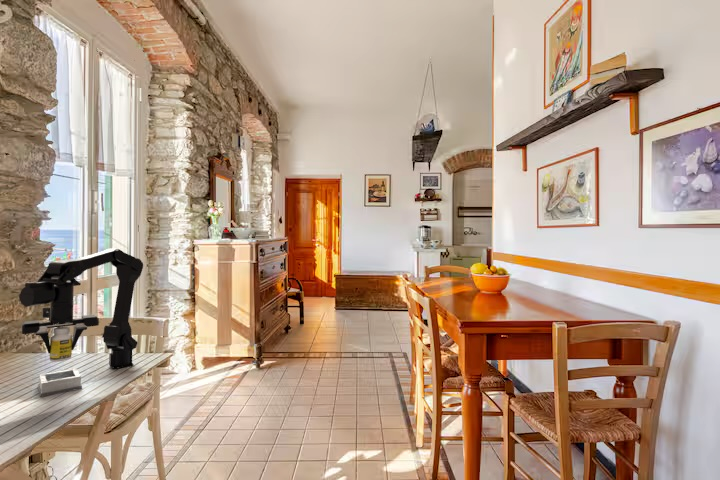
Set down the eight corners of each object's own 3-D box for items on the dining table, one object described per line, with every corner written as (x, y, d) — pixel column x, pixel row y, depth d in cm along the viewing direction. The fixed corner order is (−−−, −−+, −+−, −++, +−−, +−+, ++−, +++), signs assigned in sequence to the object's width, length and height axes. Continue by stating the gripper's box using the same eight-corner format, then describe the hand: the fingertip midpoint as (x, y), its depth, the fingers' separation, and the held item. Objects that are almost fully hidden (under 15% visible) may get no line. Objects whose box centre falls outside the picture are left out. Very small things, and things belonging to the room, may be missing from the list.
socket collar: (77, 379, 127) (77, 367, 127) (81, 388, 120) (82, 376, 120) (37, 386, 121) (38, 374, 121) (40, 396, 113) (40, 383, 113)
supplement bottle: (59, 362, 117) (60, 330, 117) (45, 361, 118) (45, 329, 118) (76, 357, 123) (76, 326, 122) (61, 356, 124) (62, 325, 124)
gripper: (93, 295, 133) (92, 340, 133) (21, 300, 120) (20, 350, 120) (99, 299, 124) (98, 348, 124) (22, 305, 112) (21, 359, 112)
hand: (61, 351), depth 120 cm, fingers closed on supplement bottle, 5 cm apart
